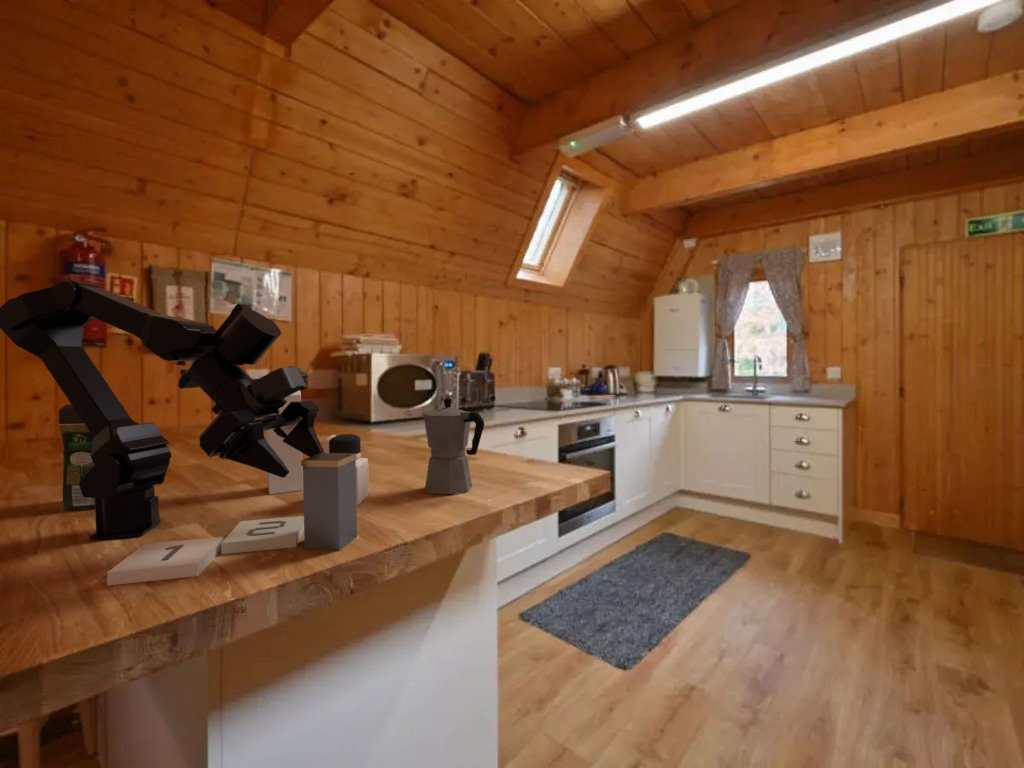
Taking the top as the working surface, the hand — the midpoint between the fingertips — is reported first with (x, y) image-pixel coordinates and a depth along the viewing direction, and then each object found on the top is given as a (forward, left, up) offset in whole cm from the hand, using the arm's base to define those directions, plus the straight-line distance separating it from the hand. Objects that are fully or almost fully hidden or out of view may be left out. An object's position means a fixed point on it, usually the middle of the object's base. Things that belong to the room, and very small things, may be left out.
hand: (306, 467), depth 67 cm
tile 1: (-15, -4, -10) cm, 19 cm away
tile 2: (-6, +3, -10) cm, 12 cm away
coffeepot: (+23, +22, -11) cm, 33 cm away
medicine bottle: (+3, +20, -11) cm, 23 cm away
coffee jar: (-40, +31, -11) cm, 51 cm away
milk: (-9, +32, -11) cm, 34 cm away
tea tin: (+3, -1, -10) cm, 11 cm away
